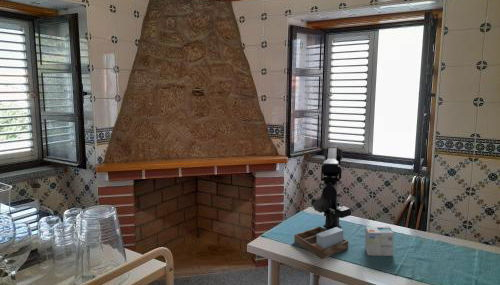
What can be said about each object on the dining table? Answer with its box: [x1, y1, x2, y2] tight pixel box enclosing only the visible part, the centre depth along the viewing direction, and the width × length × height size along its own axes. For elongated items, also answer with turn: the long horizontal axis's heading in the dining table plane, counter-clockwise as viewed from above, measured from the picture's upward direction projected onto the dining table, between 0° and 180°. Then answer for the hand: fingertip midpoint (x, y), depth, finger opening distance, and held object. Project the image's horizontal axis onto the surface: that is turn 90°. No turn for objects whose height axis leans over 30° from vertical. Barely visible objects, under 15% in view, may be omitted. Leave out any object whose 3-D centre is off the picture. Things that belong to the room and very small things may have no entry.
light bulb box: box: [364, 225, 395, 257], centre depth 154 cm, size 11×7×11 cm, turn 84°
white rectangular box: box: [317, 227, 344, 250], centre depth 157 cm, size 12×4×8 cm, turn 121°
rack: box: [293, 226, 349, 259], centre depth 162 cm, size 16×19×4 cm
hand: (330, 225), depth 156 cm, fingers closed
